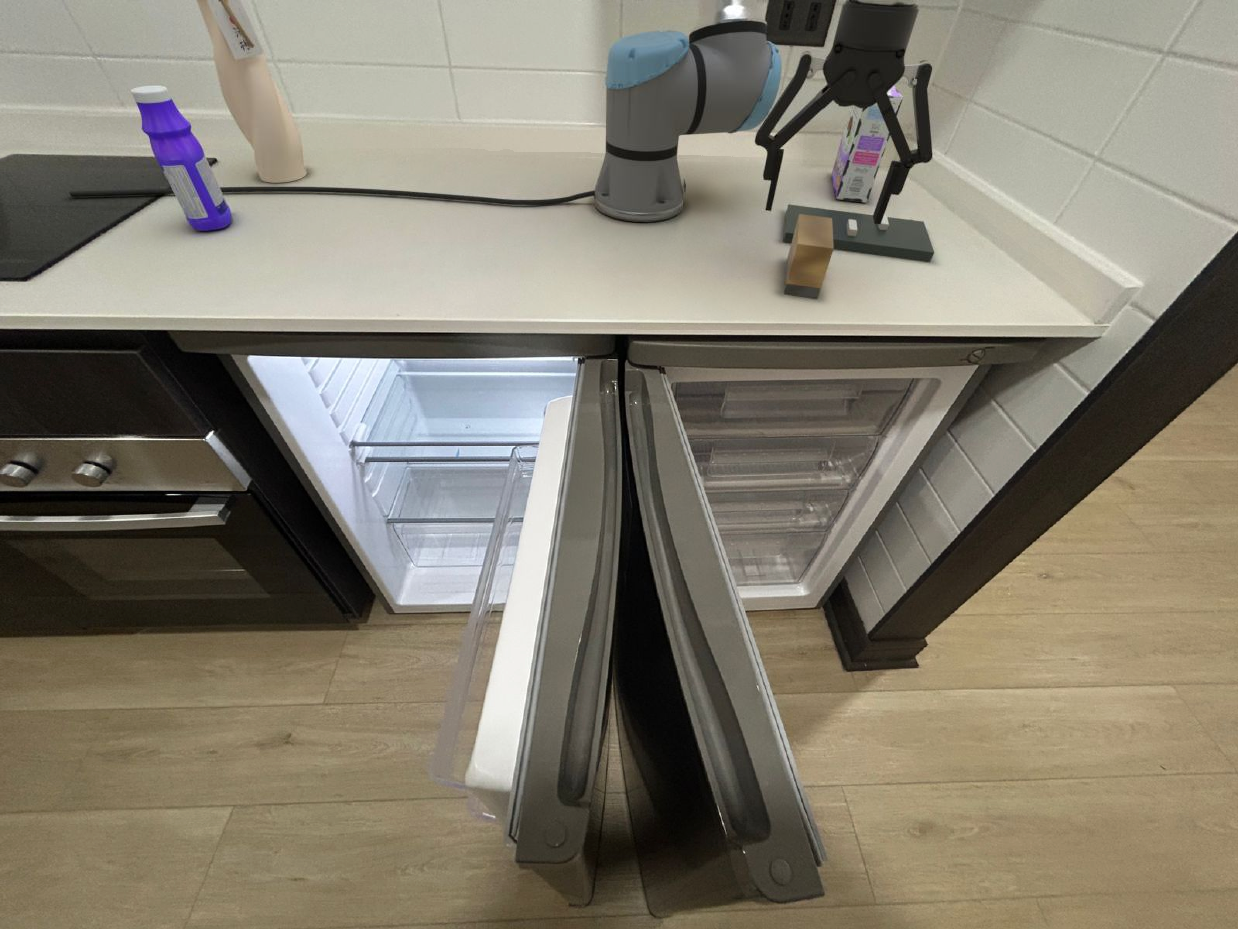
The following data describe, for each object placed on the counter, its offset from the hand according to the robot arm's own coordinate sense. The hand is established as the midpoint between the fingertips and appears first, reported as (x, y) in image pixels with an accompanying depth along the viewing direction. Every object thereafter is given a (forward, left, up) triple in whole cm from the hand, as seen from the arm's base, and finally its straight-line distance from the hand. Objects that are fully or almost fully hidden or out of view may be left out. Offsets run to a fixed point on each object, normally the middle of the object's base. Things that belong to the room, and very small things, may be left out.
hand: (821, 213), depth 71 cm
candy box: (+8, +40, -9) cm, 42 cm away
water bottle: (-91, +11, -9) cm, 92 cm away
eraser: (0, 0, -9) cm, 9 cm away
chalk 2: (+12, +20, -8) cm, 25 cm away
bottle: (-88, -10, -9) cm, 89 cm away
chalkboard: (+8, +18, -9) cm, 22 cm away
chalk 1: (+7, +16, -8) cm, 19 cm away
